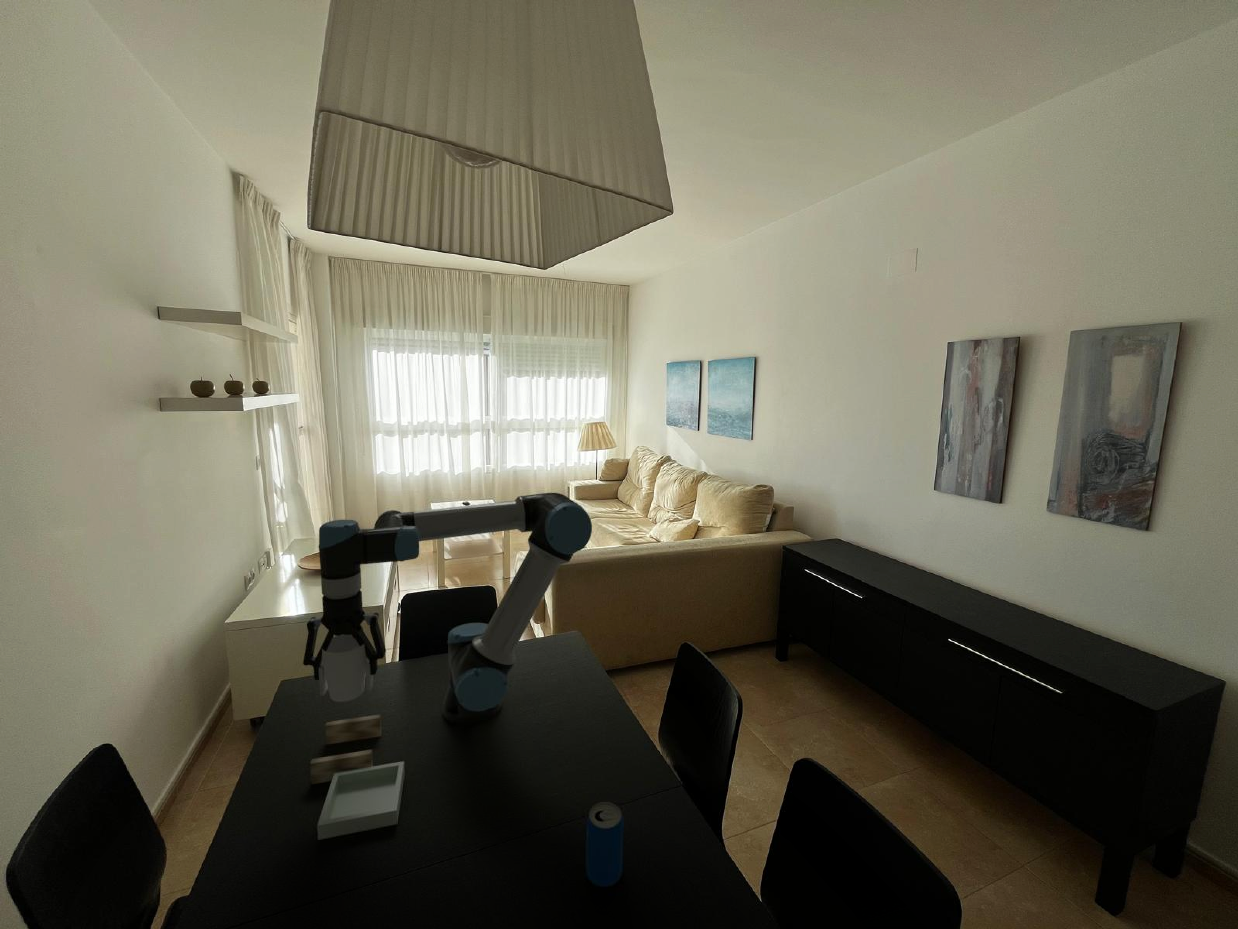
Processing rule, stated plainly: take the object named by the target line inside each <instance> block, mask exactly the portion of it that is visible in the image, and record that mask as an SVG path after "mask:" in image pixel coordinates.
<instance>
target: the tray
mask: <svg viewBox="0 0 1238 929" xmlns="http://www.w3.org/2000/svg"><path fill="white" fill-rule="evenodd" d="M405 775H406V774H405V761H398V762H391V763H386V764H385V763H384V764H380V765H373V767H367V768H361V769H356V770H350V771H344V772H338V773H334V776H333V779H332V781H330V782H331V783H330V785H329V789H328V791H327V795H326V797H325V802H324V804H323V807H322V809H321V813H320V816H319V819H318V822H317V825H316V828H317V830H316V831H317V840H318V841H320V840H324V839H330V838H335V837H340V836H346V835H348V834H355V833H360V832H363V831H369V830H374V829H375V830H376V829H379V828H380V829H381V828H384V827H389V826H394V825H398V821H399V820H398V819H399V814H400V809H401V800H402V794H403V787H404V780H405Z"/></svg>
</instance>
